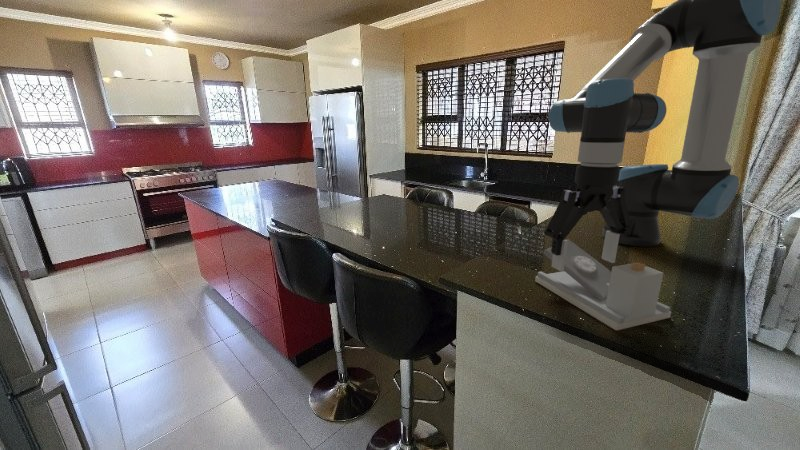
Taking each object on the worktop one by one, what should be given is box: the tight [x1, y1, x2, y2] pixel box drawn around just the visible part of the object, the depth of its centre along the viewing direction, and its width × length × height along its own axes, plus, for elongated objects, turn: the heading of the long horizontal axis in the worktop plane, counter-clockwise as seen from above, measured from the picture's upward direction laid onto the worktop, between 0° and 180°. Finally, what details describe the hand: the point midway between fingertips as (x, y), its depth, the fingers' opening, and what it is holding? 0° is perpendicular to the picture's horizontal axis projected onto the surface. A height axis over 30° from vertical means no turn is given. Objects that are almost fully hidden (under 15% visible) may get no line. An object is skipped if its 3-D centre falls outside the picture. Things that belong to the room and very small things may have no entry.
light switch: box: [542, 238, 612, 301], centre depth 73 cm, size 8×6×14 cm
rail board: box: [534, 262, 672, 331], centre depth 69 cm, size 13×21×10 cm, turn 18°
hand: (583, 264), depth 72 cm, fingers open, 13 cm apart
